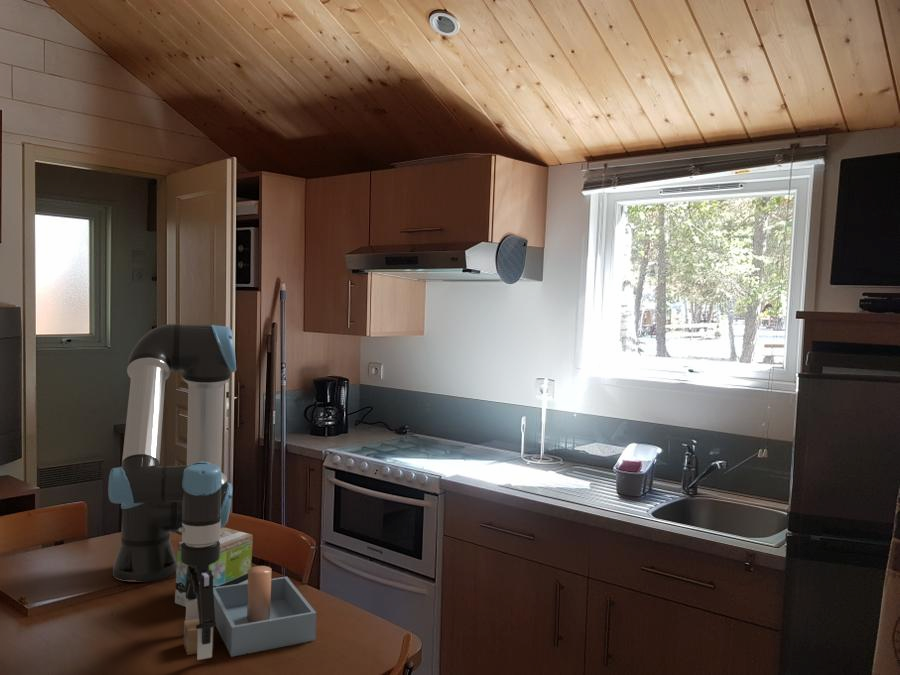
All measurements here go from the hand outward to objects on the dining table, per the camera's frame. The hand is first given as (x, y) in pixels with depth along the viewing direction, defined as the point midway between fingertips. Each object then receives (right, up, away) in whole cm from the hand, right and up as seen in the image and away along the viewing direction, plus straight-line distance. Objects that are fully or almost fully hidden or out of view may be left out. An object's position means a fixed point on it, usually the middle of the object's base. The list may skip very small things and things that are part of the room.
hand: (198, 643), depth 151 cm
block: (0, -1, 0) cm, 1 cm away
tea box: (-5, 0, +24) cm, 25 cm away
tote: (+10, -1, +11) cm, 15 cm away
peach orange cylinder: (+9, 0, +12) cm, 15 cm away
